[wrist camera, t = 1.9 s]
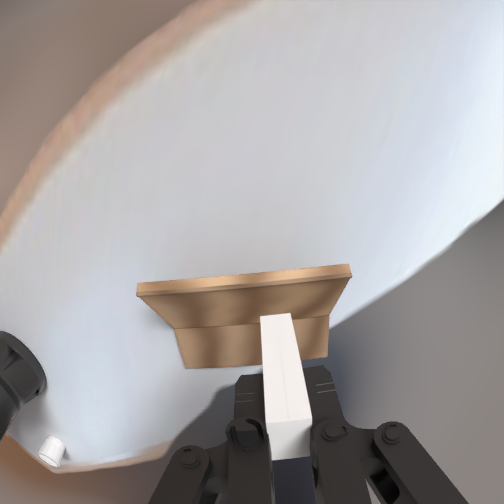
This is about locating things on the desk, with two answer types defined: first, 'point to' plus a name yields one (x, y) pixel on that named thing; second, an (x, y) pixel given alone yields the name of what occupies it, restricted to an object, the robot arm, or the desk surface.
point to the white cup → (52, 451)
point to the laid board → (246, 343)
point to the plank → (246, 296)
